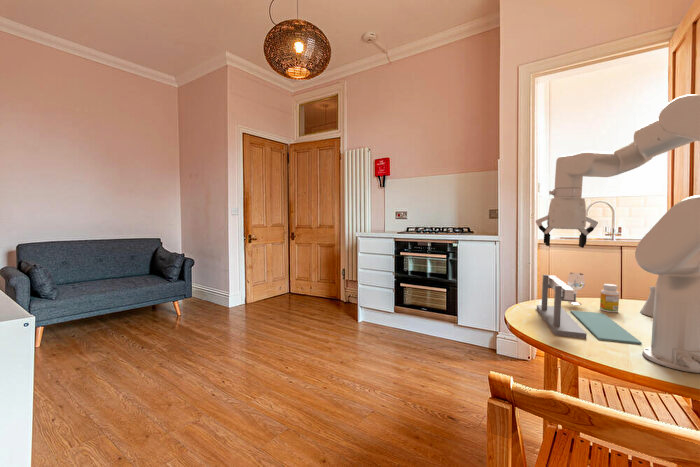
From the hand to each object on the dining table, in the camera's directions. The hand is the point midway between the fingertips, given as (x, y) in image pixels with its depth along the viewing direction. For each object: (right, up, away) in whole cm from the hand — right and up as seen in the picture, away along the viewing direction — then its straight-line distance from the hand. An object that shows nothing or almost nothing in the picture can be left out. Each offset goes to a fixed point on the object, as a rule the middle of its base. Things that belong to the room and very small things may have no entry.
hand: (564, 246), depth 109 cm
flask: (+38, -25, +9) cm, 46 cm away
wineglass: (+20, -24, +24) cm, 39 cm away
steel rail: (-1, -15, +1) cm, 15 cm away
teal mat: (+10, -26, -2) cm, 28 cm away
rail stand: (-1, -25, +2) cm, 25 cm away
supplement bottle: (+26, -25, +14) cm, 39 cm away
